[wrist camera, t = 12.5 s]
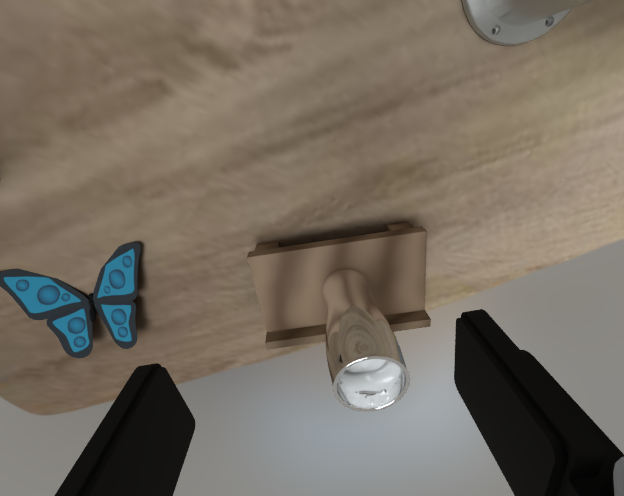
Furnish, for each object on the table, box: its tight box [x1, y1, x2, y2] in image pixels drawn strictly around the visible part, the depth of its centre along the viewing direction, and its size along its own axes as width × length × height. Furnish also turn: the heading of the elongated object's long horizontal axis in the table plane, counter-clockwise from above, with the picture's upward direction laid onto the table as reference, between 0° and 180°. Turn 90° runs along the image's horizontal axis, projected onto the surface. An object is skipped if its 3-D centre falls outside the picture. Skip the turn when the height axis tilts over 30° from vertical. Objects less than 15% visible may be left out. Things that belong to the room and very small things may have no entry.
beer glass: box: [322, 269, 410, 411], centre depth 32 cm, size 7×7×15 cm
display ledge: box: [247, 222, 431, 349], centre depth 40 cm, size 22×13×7 cm, turn 98°
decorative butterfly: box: [0, 242, 141, 358], centre depth 42 cm, size 20×14×3 cm
